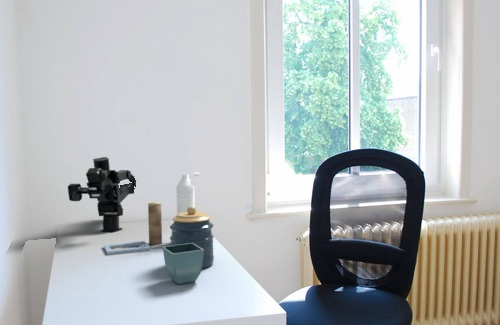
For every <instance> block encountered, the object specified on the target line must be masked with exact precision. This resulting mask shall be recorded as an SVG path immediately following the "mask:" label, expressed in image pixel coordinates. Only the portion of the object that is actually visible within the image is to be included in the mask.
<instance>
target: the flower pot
mask: <svg viewBox="0 0 500 325" xmlns="http://www.w3.org/2000/svg"><path fill="white" fill-rule="evenodd" d="M162 252H163V260H164V265H165V268H166V271H167V272H168V273H167V274H168V275H169V276H170V279H172V281H173V282H174V283H176V284H177V285H182V284H187V283H193V282H196V281H197V279H198V278H199V276H200V274H201V272H202V263H203V253H204V249H202V248H200V247H199V246H197V245H195V244H194V243H187V244H180V245H173V246H171V245H167V246H162Z"/></svg>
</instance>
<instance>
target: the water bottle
mask: <svg viewBox="0 0 500 325" xmlns="http://www.w3.org/2000/svg"><path fill="white" fill-rule="evenodd" d="M199 176H201V172H193V176H192V177H199ZM195 191H196V190H195V185H194V183H193V182H192V180H191V179H190V177H189V173H181V178H180V180H179V182H178V183H177V185H176V215H177V214H179V213H184V212H187V209H188V207H190V206H193V207H195V206H196V203H195V200H196V199H195V196H196V195H195Z"/></svg>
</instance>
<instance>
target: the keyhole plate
mask: <svg viewBox="0 0 500 325" xmlns="http://www.w3.org/2000/svg"><path fill="white" fill-rule="evenodd" d="M103 249H104V251H105V253H106V254H107V255H108V256H110V255H120V254H130V253H140V252H148V251H151V250H152V249H151V245H150V244H149V243H147V242H146V241H145V240H139V241H131V242H120V243H119V242H118V243H109V244H108V243H107V244H103Z"/></svg>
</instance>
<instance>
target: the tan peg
mask: <svg viewBox="0 0 500 325" xmlns="http://www.w3.org/2000/svg"><path fill="white" fill-rule="evenodd" d="M147 211H148V212H147V213H148V245H149V246H151V245H152V246H156V245H157V246H158V245H162V244H163V232H162V231H163V227H162V225H163V224H162V223H163V222H162V219H163V218H162V203H161V202H149V203H147Z"/></svg>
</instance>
